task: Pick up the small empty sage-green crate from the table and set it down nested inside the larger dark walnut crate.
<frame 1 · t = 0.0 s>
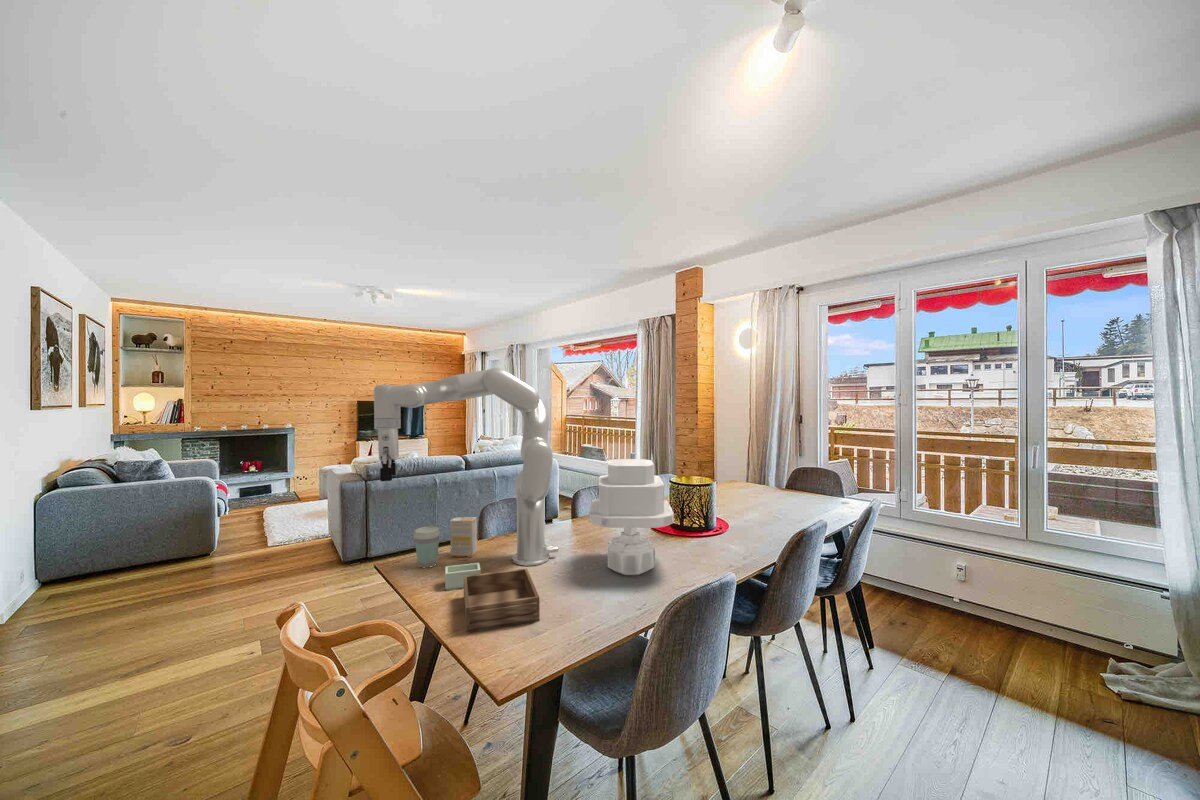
hand: (388, 477, 144), 31 cm above the table, tool pointing down, fingers open, 9 cm apart
white tiered cake stand: (630, 568, 151), on the table
coffee cup: (427, 565, 154), on the table
supplement box: (463, 555, 164), on the table
walnut crate: (499, 608, 123), on the table
sage crate: (462, 584, 139), on the table
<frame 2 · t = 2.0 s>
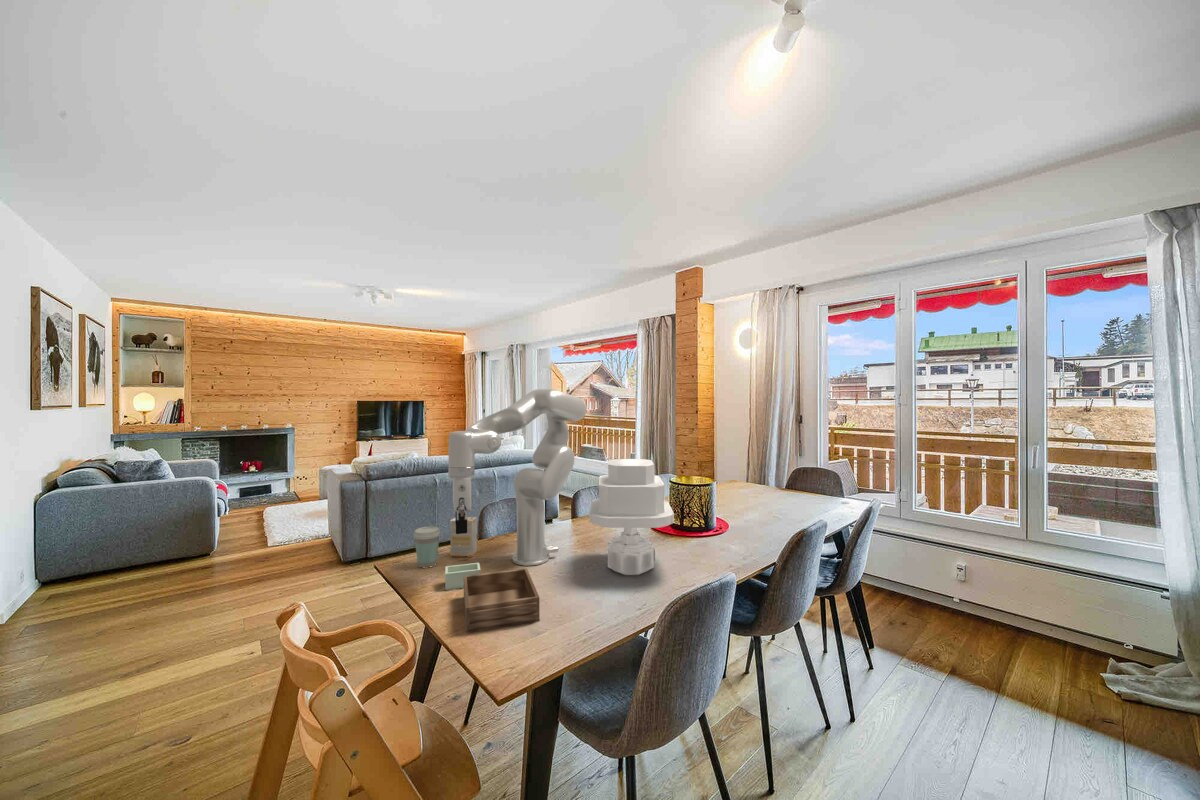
hand: (461, 528, 138), 17 cm above the table, tool pointing down, fingers open, 9 cm apart
nothing on the table moved.
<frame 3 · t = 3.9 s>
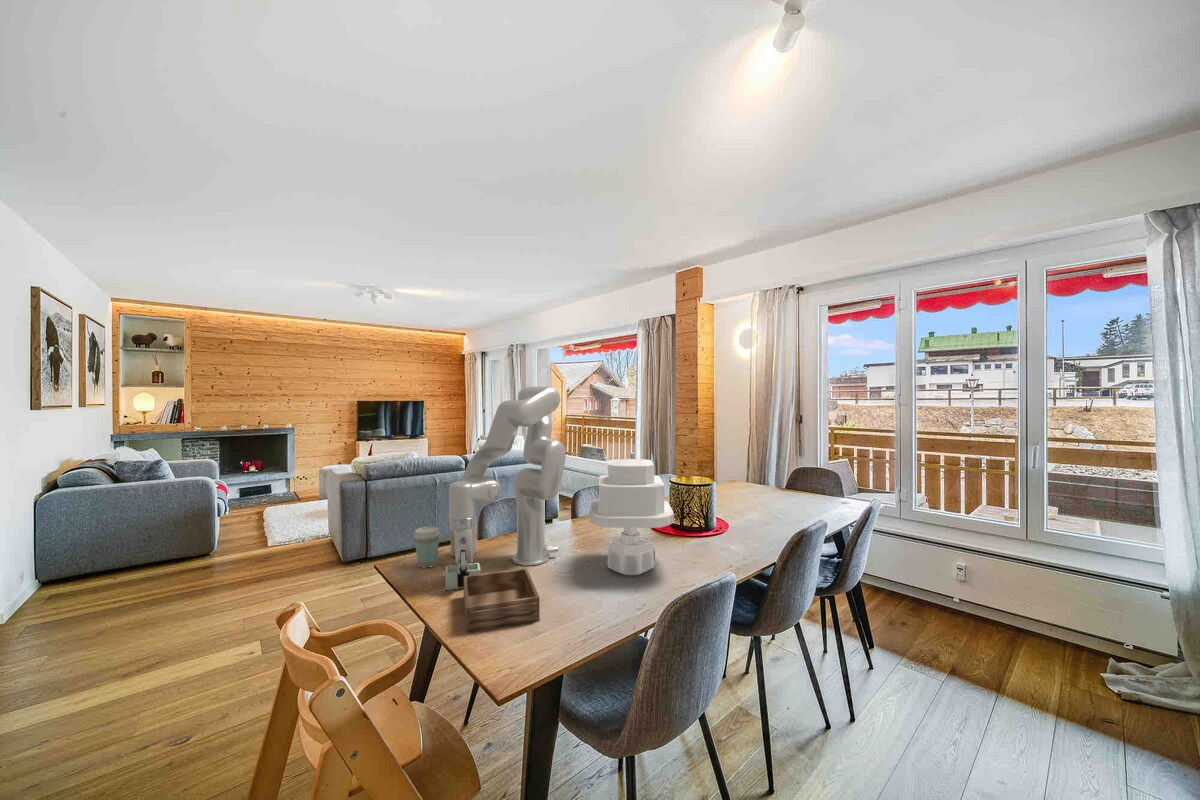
hand: (462, 581, 139), 1 cm above the table, tool pointing down, fingers closed on sage crate, 6 cm apart
sage crate: (463, 584, 139), on the table, touching gripper
everything else where it was.
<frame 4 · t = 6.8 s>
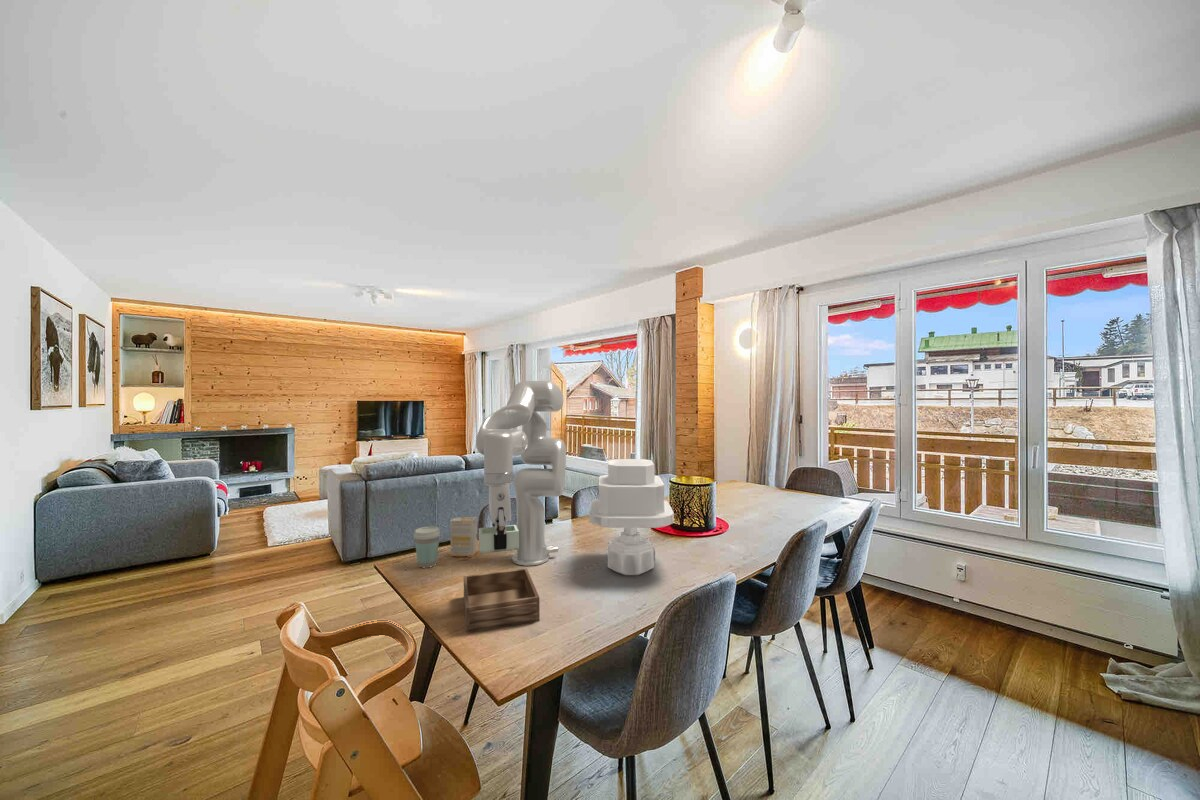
hand: (499, 544, 123), 17 cm above the table, tool pointing down, fingers closed on sage crate, 6 cm apart
sage crate: (498, 548, 123), point 16 cm above the table, touching gripper
everything else where it was.
when the fingers open (3 cm above the table, at t = 9.9 s): sage crate drops 1 cm, resting on walnut crate.
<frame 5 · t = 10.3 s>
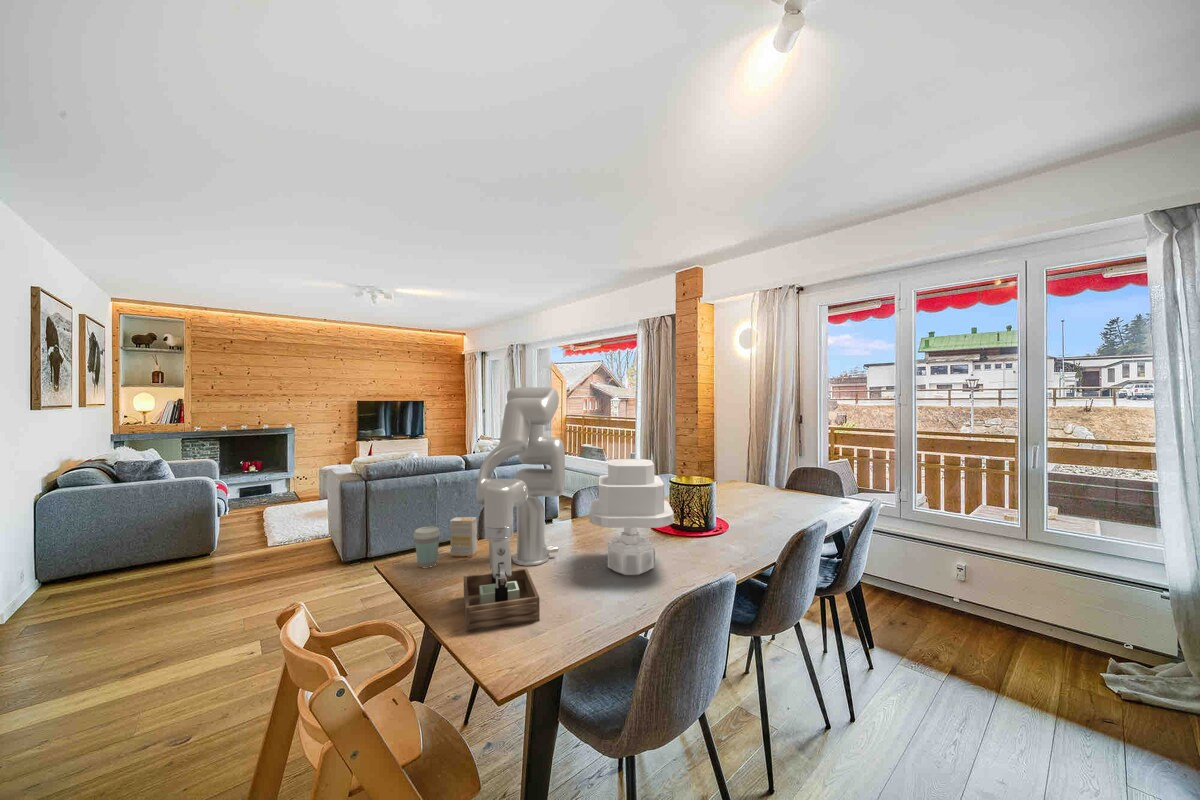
hand: (499, 594, 123), 4 cm above the table, tool pointing down, fingers open, 9 cm apart
sage crate: (499, 606, 123), point 1 cm above the table, touching walnut crate
everything else where it was.
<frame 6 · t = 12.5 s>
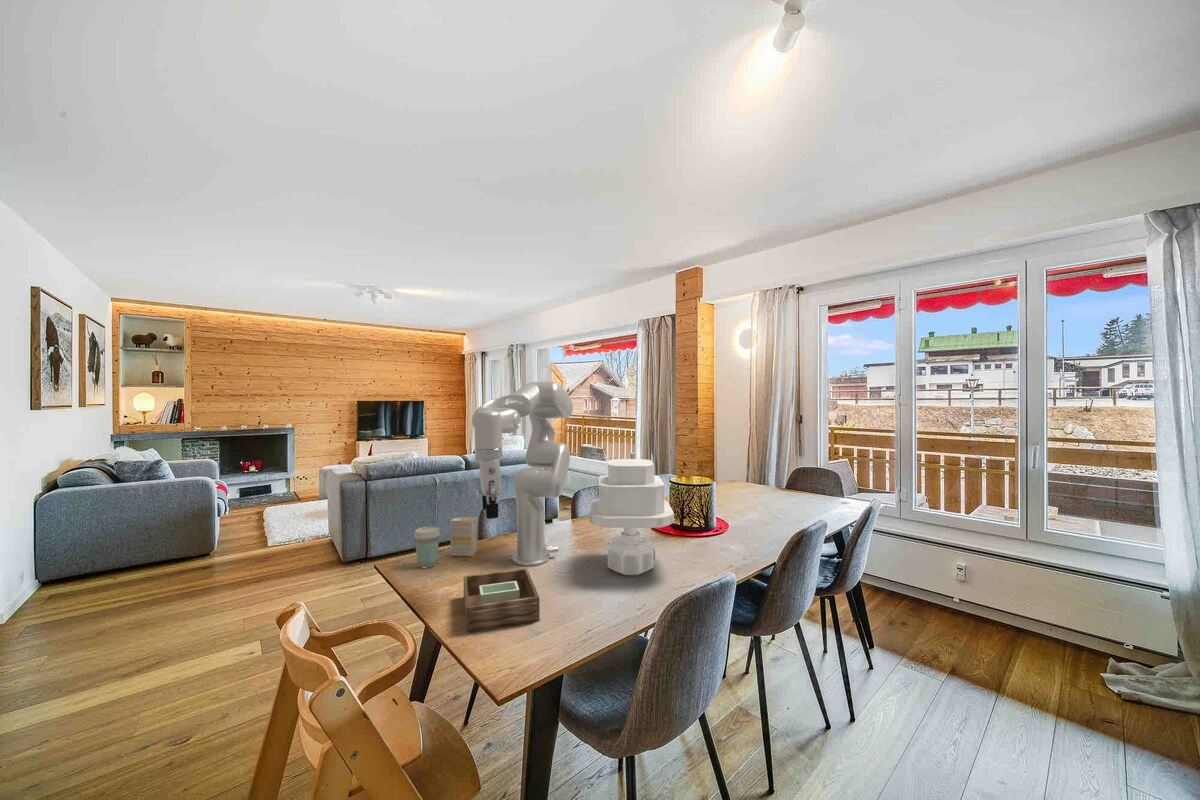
hand: (490, 513, 131), 24 cm above the table, tool pointing down, fingers open, 9 cm apart
nothing on the table moved.
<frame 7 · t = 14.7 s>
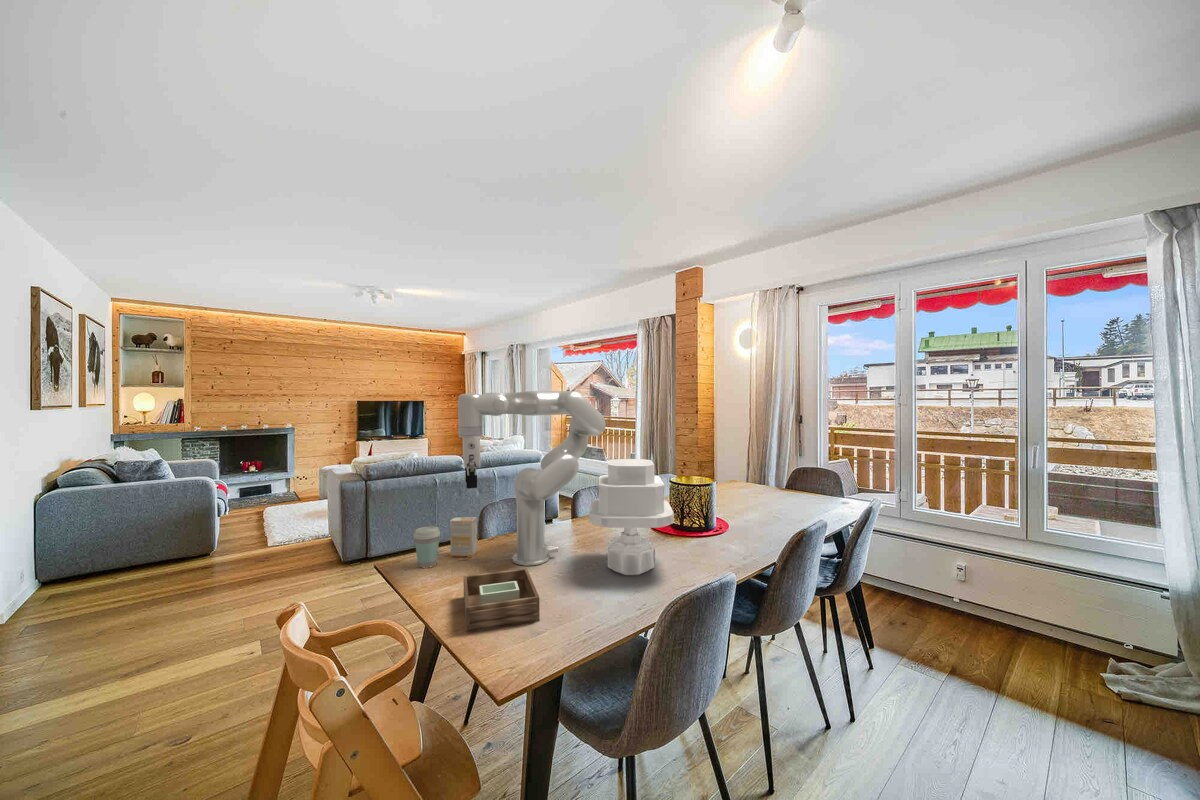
hand: (471, 484, 148), 28 cm above the table, tool pointing down, fingers open, 9 cm apart
nothing on the table moved.
at the end: sage crate inside the target area on the walnut crate (0.1 cm from its centre), point 0.6 cm above the walnut crate's base; sage crate tilted 0°; the gripper is holding nothing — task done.
